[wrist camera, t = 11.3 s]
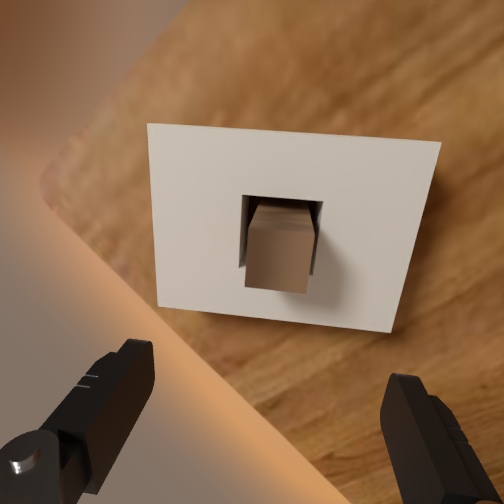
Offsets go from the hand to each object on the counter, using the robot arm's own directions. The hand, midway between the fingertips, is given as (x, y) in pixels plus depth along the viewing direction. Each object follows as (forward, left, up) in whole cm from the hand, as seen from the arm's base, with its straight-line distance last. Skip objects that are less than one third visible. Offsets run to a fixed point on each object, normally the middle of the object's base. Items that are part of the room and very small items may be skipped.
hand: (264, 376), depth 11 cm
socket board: (0, 0, -20) cm, 20 cm away
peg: (0, 0, -20) cm, 20 cm away
